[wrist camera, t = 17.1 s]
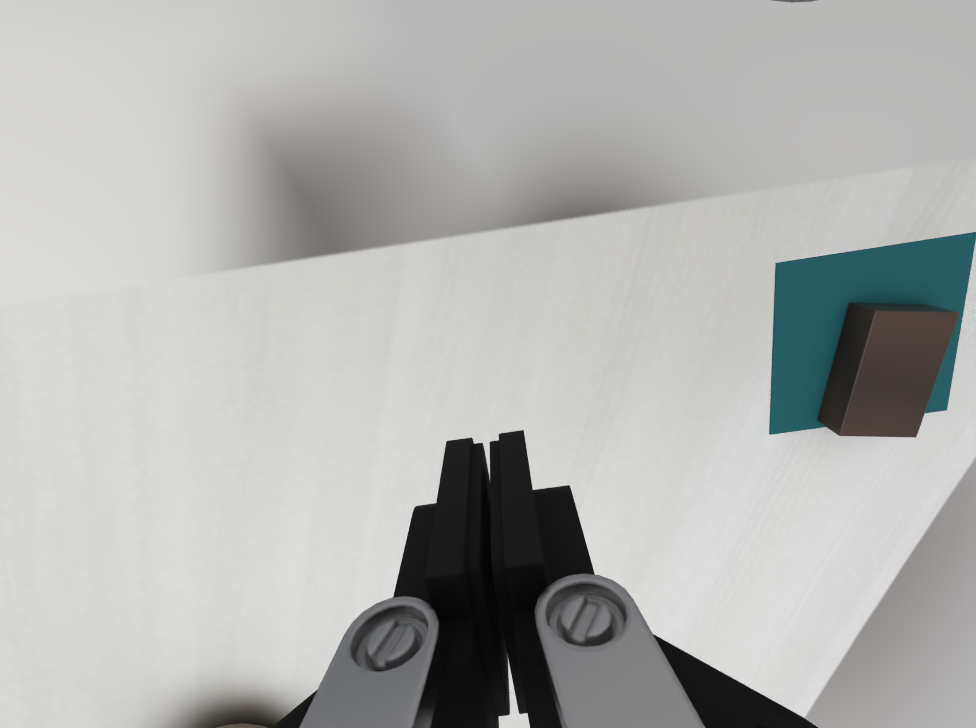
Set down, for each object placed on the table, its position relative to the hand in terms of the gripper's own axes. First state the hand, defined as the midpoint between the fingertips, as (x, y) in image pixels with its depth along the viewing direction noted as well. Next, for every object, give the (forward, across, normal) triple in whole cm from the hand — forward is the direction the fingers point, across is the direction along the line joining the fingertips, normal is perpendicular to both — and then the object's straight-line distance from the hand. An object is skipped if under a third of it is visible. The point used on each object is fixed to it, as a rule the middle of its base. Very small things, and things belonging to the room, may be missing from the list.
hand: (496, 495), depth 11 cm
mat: (+24, -26, +8) cm, 36 cm away
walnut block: (+24, -26, +10) cm, 37 cm away
